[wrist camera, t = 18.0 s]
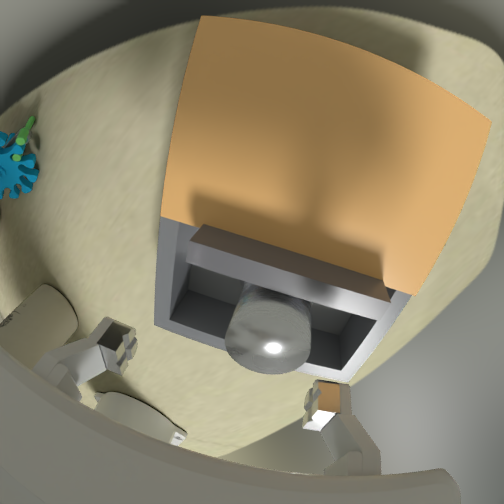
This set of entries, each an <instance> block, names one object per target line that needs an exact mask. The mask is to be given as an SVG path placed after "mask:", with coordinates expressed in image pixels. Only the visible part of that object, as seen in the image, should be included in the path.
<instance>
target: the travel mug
mask: <svg viewBox="0 0 504 504" xmlns="http://www.w3.org/2000/svg"><path fill="white" fill-rule="evenodd" d="M77 328H78V321H77V318H76V315H75V313H74V311H73V309H72V307H71V305H70V304H69V302H68V301H67V300H66V298H65V297H64V296H63V295H62V294H61V293H59V292H58V291H57V290H56V289H54V288H53V287H51V286H49V285H46V284H43V285H41V286H40V287H38V288H37V289H36V290H35V291H34V292H33V293H32V294H31V295H30V296H28V297H27V298H26V299H25V300H24V301H23V302H22V303H21V304H20V305H19V306H18V307H17V308H16V309H15V310H14V311H13V312H12V313H11V314H9V315H8V316H7V317H6V318H5V319H4V320H3V322H2V323H1V324H0V346H1V347H2V348H3V349H5V350H6V351H7V352H8V353H9V354H11V355H12V356H13V357H14V358H16V359H17V360H18V361H19V362H21V363H22V364H23V365H25V366H26V367H27V368H29V369H30V370H32V369H33V367H34V366H35V365H36V364H37V362H38V361H39V360H40V359H41V357H42V356H43V355H44V354H45V353H46V352H48V351H51V350H54V349H56V348H59V347H62V346H63V345H64V344H65V343H66V341H67V340H68V339H69V338H70V337H71V335H72V334H73V333H74V332H75V331H76V329H77Z"/></svg>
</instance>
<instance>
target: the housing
mask: <svg viewBox="0 0 504 504" xmlns="http://www.w3.org/2000/svg"><path fill="white" fill-rule="evenodd" d="M199 229H200V228H198V227H195V226H191V225H188V224H185V223H181V222H178V221H175V220H172V219H168V218H165V217H162V216H160V226H159V237H158V249H157V263H156V280H155V307H154V325H155V326H158V327H160V328H163V329H165V330H168V331H171V332H173V333H176V334H179V335H181V336H184V337H187V338H189V339H192V340H195V341H198V342H201V343H203V344H206V345H209V346H212V347H215V348H218V349H221V350H224V351H227V350H226V347H225V335H226V332H227V330H228V327H229V324H230V321H231V319H232V316H233V313H234V310H235V308H236V305H237V302H238V299H239V297H240V294H241V291H242V288H243V287H242V286H241V283H240V280H239V279H236V278H233V277H230V276H226V275H223V274H220V273H217V272H214V271H211V270H208V269H205V268H202V267H199V266H196V265H193V264H190V263H187V262H186V259H187V252H188V245H189V240H190V239H191V238H192V237H193V235H194V234H195V233H196V232H197V231H198V230H199ZM385 287H386V286H385ZM386 290H387V292H388V295H389V298H390V301H391V304H390V306H389V307H388V309H387V311H386V312H385V314H384V315H383V317H382V318H381V320H380V321H378V320H374V319H370V318H367V317H363V316H360V315H356V314H352V313H349V312H345V311H342V310H338V309H335V308H331V307H328V306H324V305H321V304H318V303H314V302H312V317H311V348H310V355H309V357H308V359H307V360H306V362H305V363H304V364H303V365H302V366H300V367H299V368H297V369H295V370H294V371H298V372H302V373H306V374H311V375H315V376H319V377H324V378H329V379H333V380H338V381H343V382H349V380H350V379H351V378H352V377H353V376H354V374H355V373H356V372H357V371H358V370H359V368H360V367H361V366H362V365H363V363H364V362H365V361H366V360H367V358H368V357H369V356H370V355H371V353H372V352H373V351H374V349H375V348H376V347H377V345H378V344H379V343H380V341H381V340H382V339H383V337H384V336H385V334H386V333H387V332H388V330H389V329H390V327H391V326H392V325H393V323H394V322H395V320H396V319H397V317H398V316H399V314H400V313H401V311H402V310H403V308H404V307H405V305H406V304H407V302H408V301H409V299H410V297H411V296H412V295H410V294H407V293H404V292H401V291H398V290H395V289H392V288H389V287H386Z"/></svg>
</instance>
